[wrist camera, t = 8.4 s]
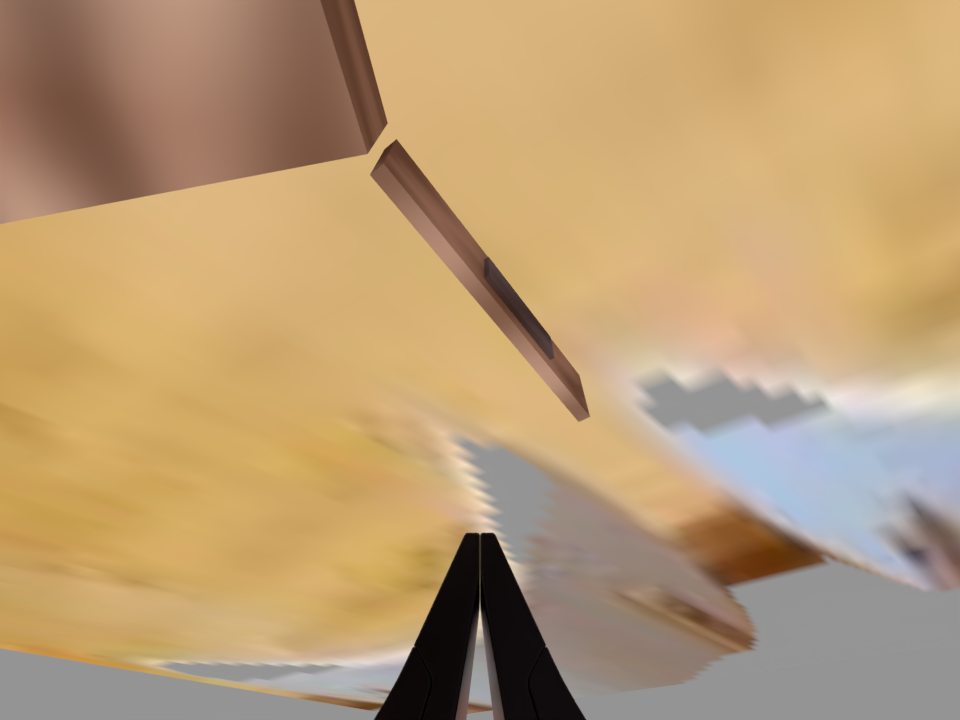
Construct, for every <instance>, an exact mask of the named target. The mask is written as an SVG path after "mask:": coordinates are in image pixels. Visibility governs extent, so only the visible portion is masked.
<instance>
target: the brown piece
mask: <svg viewBox="0 0 960 720" xmlns="http://www.w3.org/2000/svg"><path fill="white" fill-rule="evenodd" d="M387 124H388V122H387V118H386V115H385V111H384V107H383V104H382V100H381V96H380V93H379V89H378V85H377V82H376V78H375V74H374V71H373V67H372V63H371V60H370V56H369V52H368V49H367V45H366V41H365V38H364V34H363V30H362V27H361V23H360V19H359V16H358V12H357V8H356V5H355V1H354V0H0V224H4V223H9V222H14V221H19V220H25V219H30V218H35V217H40V216H46V215H51V214H56V213H61V212H67V211H72V210H77V209H82V208H88V207H93V206H98V205H103V204H109V203H114V202H119V201H124V200H130V199H135V198H140V197H145V196H151V195H156V194H161V193H166V192H172V191H177V190H182V189H187V188H192V187H198V186H203V185H208V184H213V183H219V182H224V181H229V180H234V179H240V178H245V177H250V176H255V175H261V174H266V173H271V172H276V171H282V170H287V169H292V168H297V167H303V166H308V165H313V164H318V163H324V162H329V161H334V160H339V159H345V158H350V157H355V156H360V155H366V154H368V153H369V151H370V150H371V148H372V147H373V145H374V144H375V142H376V141H377V139H378V138H379V136H380V134H381V133H382V131H383V130H384V128H385V127H386V125H387Z"/></svg>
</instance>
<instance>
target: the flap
mask: <svg viewBox="0 0 960 720" xmlns="http://www.w3.org/2000/svg"><path fill="white" fill-rule="evenodd" d="M370 176H371V177H372V178H373V179H374V181H375V182H376V183H377V184H378V185H379V186H380V188H381V189H382V190H383V191H384V192H385V194H386V195H387V196H388V197H389V198H390V199H391V201H392V202H393V203H394V204H395V205H396V207H397V208H398V209H399V210H400V211H401V212H402V214H403V215H404V216H405V217H406V218H407V220H408V221H409V222H410V223H411V224H412V225H413V227H414V228H415V229H416V230H417V231H418V233H419V234H420V235H421V236H422V237H423V238H424V240H425V241H426V242H427V243H428V244H429V246H430V247H431V248H432V249H433V250H434V252H435V253H436V254H437V255H438V256H439V257H440V259H441V260H442V261H443V262H444V263H445V265H446V266H447V267H448V268H449V269H450V270H451V272H452V273H453V274H454V275H455V276H456V278H457V279H458V280H459V281H460V282H461V283H462V285H463V286H464V287H465V288H466V289H467V291H468V292H469V293H470V294H471V295H472V296H473V298H474V299H475V300H476V301H477V302H478V304H479V305H480V306H481V307H482V308H483V309H484V311H485V312H486V313H487V314H488V315H489V317H490V318H491V319H492V320H493V321H494V323H495V324H496V325H497V326H498V327H499V328H500V330H501V331H502V332H503V333H504V334H505V336H506V337H507V338H508V339H509V340H510V341H511V343H512V344H513V345H514V346H515V347H516V349H517V350H518V351H519V352H520V353H521V354H522V356H523V357H524V358H525V359H526V360H527V362H528V363H529V364H530V365H531V366H532V367H533V369H534V370H535V371H536V372H537V373H538V375H539V376H540V377H541V378H542V379H543V380H544V382H545V383H546V384H547V385H548V386H549V388H550V389H551V390H552V391H553V392H554V394H555V395H556V396H557V397H558V398H559V399H560V401H561V402H562V403H563V404H564V405H565V407H566V408H567V409H568V410H569V411H570V412H571V414H572V415H573V416H574V417H575V418H576V420H577V421H578V422H580V421H582V420H585V419H587V418H589V417H590V414H589V411H588V407H587V403H586V399H585V395H584V391H583V387H582V383H581V379H580V375H579V374H578V373H577V371H576V370H575V369H574V367H573V366H572V365H571V364H570V362H569V361H568V360H567V358H566V357H565V356H564V355H563V353H562V352H561V351H560V349H559V348H558V347H557V346H556V344H555V343H554V342H553V340H552V339H551V337H550V335H549V334H548V333H547V332H546V330H545V329H544V328H543V326H542V325H541V324H540V323H539V321H538V320H537V319H536V317H535V316H534V315H533V313H532V312H531V311H530V310H529V308H528V307H527V306H526V304H525V303H524V302H523V301H522V299H521V298H520V297H519V295H518V294H517V293H516V291H515V290H514V289H513V288H512V286H511V285H510V284H509V282H508V281H507V280H506V279H505V277H504V276H503V275H502V273H501V272H500V271H499V269H498V268H497V267H496V266H495V264H494V263H493V262H492V260H491V259H490V258H489V257H488V256H487V255H486V254H485V252H484V251H483V250H482V249H481V247H480V246H479V245H478V243H477V242H476V241H475V240H474V238H473V237H472V236H471V234H470V233H469V232H468V230H467V229H466V228H465V227H464V225H463V224H462V223H461V221H460V220H459V219H458V218H457V216H456V215H455V214H454V212H453V211H452V210H451V209H450V207H449V206H448V205H447V203H446V202H445V201H444V199H443V198H442V197H441V196H440V194H439V193H438V192H437V190H436V189H435V188H434V187H433V185H432V184H431V183H430V181H429V180H428V179H427V177H426V176H425V175H424V174H423V172H422V171H421V170H420V168H419V167H418V166H417V165H416V163H415V162H414V161H413V159H412V158H411V157H410V156H409V154H408V153H407V152H406V150H405V149H404V148H403V146H402V145H401V144H400V143H399V141H398V140H397V139H396V140H395V141H394V142H392V143H391V144H390V145H389V146H388V147H386V148H385V149H384V151H383V153H382V154H381V156H380V158H379V160H378V161H377V163H376V165H375V167H374V168H373V170H372V172H371V174H370Z"/></svg>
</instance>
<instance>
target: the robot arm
mask: <svg viewBox="0 0 960 720" xmlns="http://www.w3.org/2000/svg"><path fill="white" fill-rule="evenodd" d="M479 610H481V620H482V628H483V636H484V645H485V653H486V661H487V669H488V677H489V686H490V694H491V702H492V710H493V718H494V720H586V718H585V717H584V715H583V713H582V712H581V710H580V708H579V707H578V705H577V704H576V702H575V700H574V698H573V696H572V695H571V693H570V691H569V689H568V688H567V686H566V684H565V682H564V680H563V678H562V676H561V674H560V672H559V670H558V668H557V666H556V664H555V662H554V660H553V658H552V656H551V654H550V651H549V649H548V648H547V647H546V644H545V641H544V639H543V637H542V635H541V633H540V630H539V628H538V626H537V624H536V622H535V620H534V617H533V615H532V613H531V611H530V609H529V607H528V604H527V602H526V600H525V598H524V596H523V593H522V591H521V589H520V587H519V585H518V583H517V580H516V578H515V576H514V574H513V572H512V569H511V567H510V565H509V563H508V561H507V559H506V556H505V554H504V552H503V550H502V548H501V546H500V543H499V541H498V539H497V537H496V535H495V534H494V533H481V534H479V533H466V534H465V535H464V537H463V539H462V541H461V543H460V546H459V548H458V550H457V552H456V554H455V556H454V559H453V561H452V563H451V565H450V567H449V569H448V572H447V574H446V576H445V578H444V580H443V583H442V585H441V587H440V589H439V591H438V593H437V596H436V598H435V600H434V602H433V604H432V606H431V609H430V611H429V613H428V615H427V617H426V620H425V622H424V624H423V626H422V628H421V630H420V633H419V635H418V637H417V639H416V641H415V644H414V647H413V648H412V649H411V652H410V654H409V656H408V658H407V660H406V662H405V664H404V666H403V668H402V670H401V672H400V674H399V676H398V678H397V680H396V682H395V684H394V686H393V688H392V689H391V691H390V693H389V695H388V696H387V698H386V700H385V702H384V703H383V705H382V707H381V708H380V710H379V712H378V713H377V715H376V717H375V718H374V720H466V718H467V710H468V702H469V694H470V686H471V677H472V669H473V661H474V653H475V645H476V636H477V628H478V620H479Z"/></svg>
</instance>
